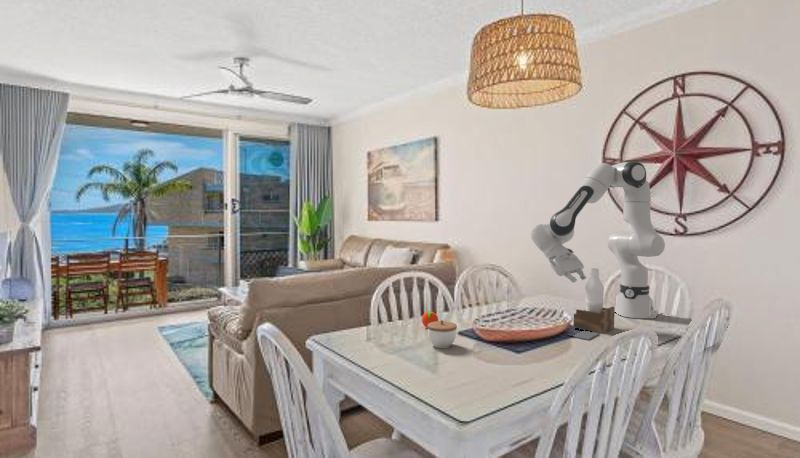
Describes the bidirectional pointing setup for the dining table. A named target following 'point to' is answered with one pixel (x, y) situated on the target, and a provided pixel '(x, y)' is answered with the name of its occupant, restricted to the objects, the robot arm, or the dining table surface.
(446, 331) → the lidded jar
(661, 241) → the robot arm
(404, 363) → the dining table surface
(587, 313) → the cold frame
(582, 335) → the mat
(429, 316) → the tomato
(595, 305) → the water bottle
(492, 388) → the dining table surface
